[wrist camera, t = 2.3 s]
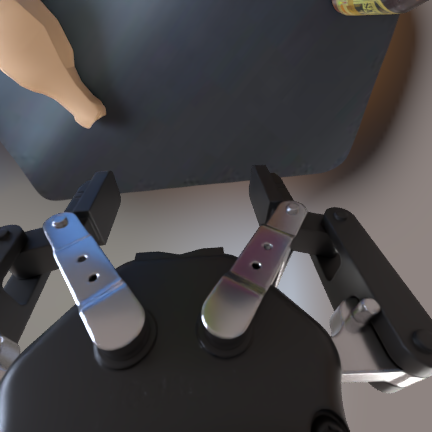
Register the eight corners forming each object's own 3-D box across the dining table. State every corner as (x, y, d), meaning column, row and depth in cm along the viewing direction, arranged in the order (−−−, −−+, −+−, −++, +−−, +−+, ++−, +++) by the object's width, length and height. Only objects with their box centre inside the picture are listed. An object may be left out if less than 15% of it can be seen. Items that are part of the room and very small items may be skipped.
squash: (5, -54, 28) (-27, -70, 22) (123, 95, 42) (124, 111, 36) (-55, 2, 29) (-101, 2, 23) (79, 128, 44) (72, 149, 37)
